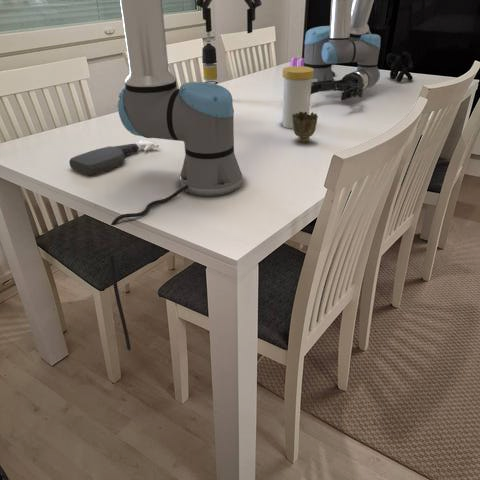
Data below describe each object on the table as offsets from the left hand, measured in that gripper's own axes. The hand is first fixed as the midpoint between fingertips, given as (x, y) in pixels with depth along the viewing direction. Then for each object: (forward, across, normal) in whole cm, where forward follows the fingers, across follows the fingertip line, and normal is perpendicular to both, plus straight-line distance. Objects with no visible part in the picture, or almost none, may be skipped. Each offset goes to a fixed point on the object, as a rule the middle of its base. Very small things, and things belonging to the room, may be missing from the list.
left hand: (229, 32), depth 139 cm
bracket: (+28, -6, -85) cm, 89 cm away
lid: (+11, -22, -2) cm, 25 cm away
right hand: (+21, -28, -18) cm, 40 cm away
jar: (+28, -22, -2) cm, 36 cm away
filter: (+28, +18, -25) cm, 42 cm away
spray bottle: (+28, +18, +42) cm, 54 cm away
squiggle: (+28, -52, -78) cm, 98 cm away
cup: (+28, -28, +13) cm, 42 cm away
